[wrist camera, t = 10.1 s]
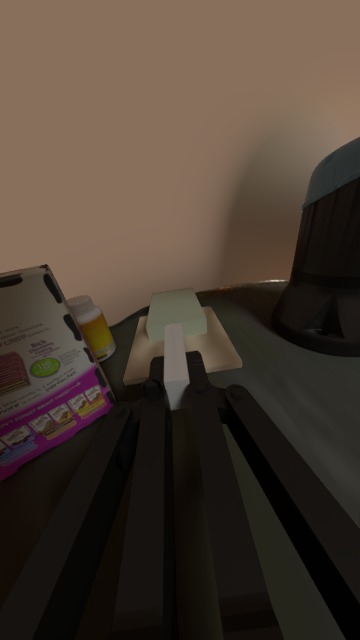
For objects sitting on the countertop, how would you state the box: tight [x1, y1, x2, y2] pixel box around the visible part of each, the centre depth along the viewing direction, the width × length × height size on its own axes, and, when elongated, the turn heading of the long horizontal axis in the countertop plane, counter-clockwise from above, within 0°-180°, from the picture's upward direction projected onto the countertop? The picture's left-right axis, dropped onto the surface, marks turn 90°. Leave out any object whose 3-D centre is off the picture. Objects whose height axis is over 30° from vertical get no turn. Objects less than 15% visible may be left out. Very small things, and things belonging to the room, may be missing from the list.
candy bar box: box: [0, 264, 117, 481], centre depth 15 cm, size 11×5×16 cm, turn 125°
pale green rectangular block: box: [146, 288, 207, 342], centre depth 35 cm, size 10×3×16 cm
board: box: [123, 306, 242, 386], centre depth 30 cm, size 16×18×1 cm
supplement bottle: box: [66, 296, 116, 362], centre depth 27 cm, size 6×6×10 cm
